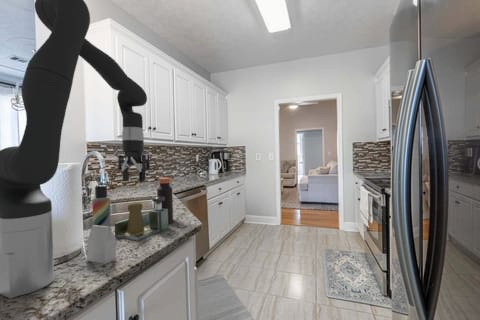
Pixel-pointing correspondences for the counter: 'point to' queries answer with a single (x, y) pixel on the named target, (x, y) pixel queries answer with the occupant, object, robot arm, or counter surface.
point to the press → (151, 223)
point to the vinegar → (166, 196)
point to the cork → (135, 218)
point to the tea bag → (101, 245)
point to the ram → (158, 203)
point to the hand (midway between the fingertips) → (133, 181)
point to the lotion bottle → (101, 207)
